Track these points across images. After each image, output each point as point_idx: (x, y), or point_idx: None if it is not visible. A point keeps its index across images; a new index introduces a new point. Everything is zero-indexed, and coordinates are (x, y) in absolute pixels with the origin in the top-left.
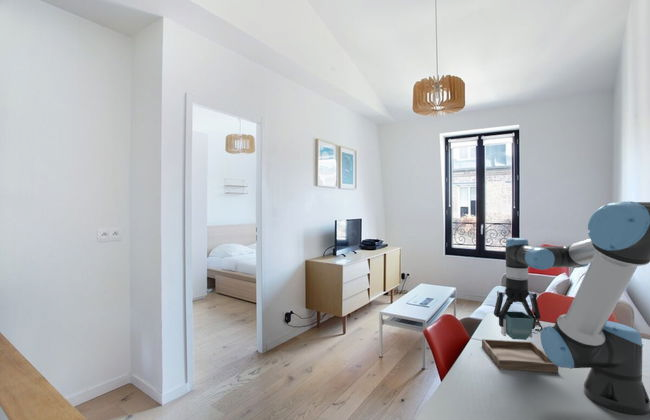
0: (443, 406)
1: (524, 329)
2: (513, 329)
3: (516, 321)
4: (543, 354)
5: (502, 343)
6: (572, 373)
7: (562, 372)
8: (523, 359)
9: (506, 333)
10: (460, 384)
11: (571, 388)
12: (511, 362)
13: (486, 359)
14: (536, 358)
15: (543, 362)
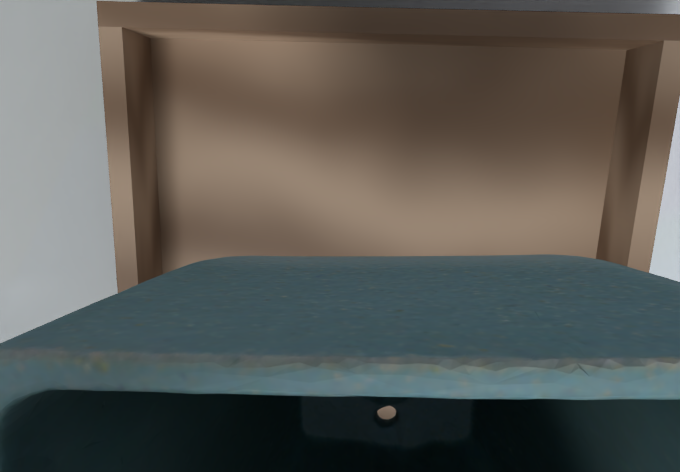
0: None
1: (332, 264)
2: (567, 260)
3: (598, 315)
4: (139, 246)
5: None
6: (19, 22)
7: (96, 31)
8: (338, 221)
9: (492, 435)
10: None
11: None
12: (562, 12)
13: (667, 218)
14: (210, 255)
15: (230, 27)
